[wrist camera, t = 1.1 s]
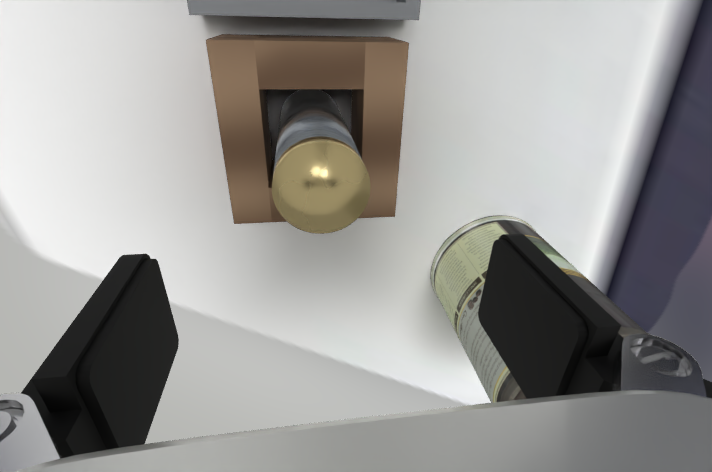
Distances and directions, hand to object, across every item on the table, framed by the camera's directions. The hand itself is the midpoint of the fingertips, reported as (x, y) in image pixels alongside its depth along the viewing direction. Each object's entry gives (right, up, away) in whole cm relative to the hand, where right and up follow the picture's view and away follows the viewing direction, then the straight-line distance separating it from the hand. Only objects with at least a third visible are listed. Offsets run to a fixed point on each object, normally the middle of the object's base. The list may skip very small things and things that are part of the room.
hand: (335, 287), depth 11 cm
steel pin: (-2, +9, +15) cm, 18 cm away
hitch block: (-2, +9, +15) cm, 18 cm away
